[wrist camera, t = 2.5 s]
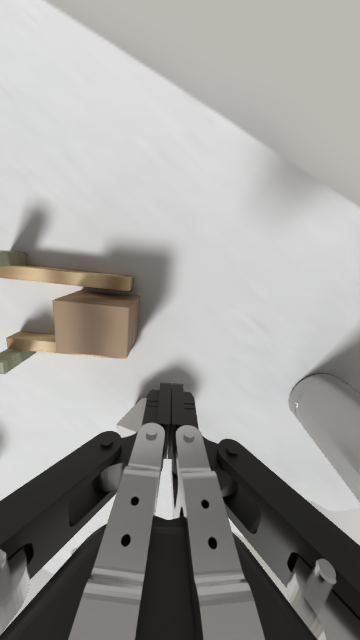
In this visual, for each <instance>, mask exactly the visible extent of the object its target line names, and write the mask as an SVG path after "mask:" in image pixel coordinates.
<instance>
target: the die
mask: <svg viewBox="0 0 360 640" xmlns="http://www.w3.org/2000/svg"><path fill="white" fill-rule="evenodd" d="M146 400H147V398H142V399H141V400H140V401H139V402H138V403H137V404H136V405H135V406H134V407H133V408H132V409H131V410H130V411H129V412H128V413H127V414H126V415H125V416H124V417H123V418H122V419H121V420H120V421H119V422H118V423H117V424H116V425H117V428H118V431H119V434H120V436H121V438H123V437H128V436H131V435H133V434H135V433H136V432H138V431H139V429H140V428H141V426H142V421H143V416H144V411H145V406H146ZM167 454H168V449H167Z"/></svg>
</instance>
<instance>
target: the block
mask: <svg viewBox="0 0 360 640" xmlns="http://www.w3.org/2000/svg"><path fill="white" fill-rule="evenodd" d="M139 297H140V296H134V295H124V294H114V293H105V292H95V291H85V290H80V291H77V292H75V293H72V294H69V295H66V296H63V297H60V298H58V299H55V300H53V313H54V327H55V342H56V352H64V353H75V354H87V355H98V356H110V357H122V358H127V357H128V355H129V353H130V350H131V348H132V346H133V344H134V342H135V340H136V338H137V335H138V316H139Z"/></svg>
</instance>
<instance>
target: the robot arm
mask: <svg viewBox="0 0 360 640" xmlns="http://www.w3.org/2000/svg"><path fill="white" fill-rule="evenodd" d="M289 406H290V409H291V411H292V412H293V414H294V415H295V416H296V418H297V419H298V420H299V422H300V423H301V424H302V426H303V427H304V429H305V430H306V431H307V433H308V434H309V435H310V437H311V438H312V439H313V441H314V442H315V443H316V445H317V446H318V447H319V449H320V450H321V451H322V453H323V454H324V455H325V457H326V458H327V459H328V461H329V462H330V463H331V465H332V466H333V467H334V469H335V470H336V471H337V473H338V474H339V475H340V477H341V478H342V479H343V481H344V482H345V483H346V485H347V486H348V487H349V489H350V490H351V491H352V493H353V494H354V495H355V497H356V498H357V499H358V501H359V502H360V392H358V391H357V390H356V389H354V388H353V387H352V386H350V385H349V384H345V383H344V382H342V381H341V380H340V379H338V378H337V377H335V376H333V375H330V374H316V375H312V376H309V377H307V378H305V379H303V380H302V381H301V382H299V383H298V384H297V385H296V386H295V388H294V389H293V390H292V392H291V395H290V399H289ZM167 449H168V459H172V468H171V488H172V504H173V519H172V520H165V519H163V518H160V517H157V516H155V512H156V505H157V497H158V490H159V483H160V475H161V471H162V468H163V460H164V459H166V458H167ZM116 493H117V494H116ZM115 494H116V497H115V500H114V503H113V507H112V510H111V513H110V516H109V519H108V523H107V524H106V525H104V526H102V527H101V528H99V529H98V530H96V531H95V532H94V533H92V534H91V535H90V536H89V537H88V538H87V539H86V540H85V541H84V542H83V543H82V544H81V546H80V547H79V548H78V549H77V550H76V551H75V552H74V553H73V554H72V556H71V557H70V558H69V559H68V560H67V561H66V562H65V563H64V565H63V566H62V567H61V568H60V569H59V570H58V571H57V572H56V574H55V575H54V576H53V577H52V578H51V579H50V580H49V582H48V583H47V584H46V585H45V586H44V587H43V588H42V589H41V590H40V592H39V593H38V594H37V595H36V596H35V597H34V598H33V599H32V600H31V602H30V603H29V604H28V605H27V606H26V607H25V608H24V610H23V611H22V612H21V613H20V614H19V615H18V616H17V617H16V618H15V619H14V621H13V622H12V623H11V624H10V625H9V626H8V627H7V625H8V624H9V623H10V621H11V620H12V619H13V618H14V616H15V615H16V614H17V612H18V611H19V609H20V608H21V606H22V604H23V603H24V600H25V598H26V596H27V593H28V590H29V585H30V579H31V578H32V577H33V576H34V575H35V574H36V573H37V572H38V571H39V570H40V569H41V568H42V567H43V566H44V565H45V564H46V563H47V562H48V561H49V560H50V559H51V558H52V557H53V556H54V555H55V554H56V553H57V552H58V551H59V550H60V549H61V548H62V547H63V546H64V545H65V544H66V543H67V542H68V541H69V540H70V539H71V538H72V537H73V536H74V535H75V534H76V533H77V532H78V531H79V530H80V529H81V528H82V527H83V526H84V525H85V524H86V523H87V522H88V521H89V520H90V519H91V518H92V517H93V516H94V515H95V514H96V513H97V512H98V511H99V510H100V509H101V508H102V507H103V506H104V505H105V504H106V503H107V502H108V501H109V500H110V499H111V498H112V497H113V496H114V495H115ZM228 517H229V519H230V520H231V521H232V522H233V524H234V525H235V526H236V527H237V528H238V530H239V531H240V532H241V533H242V534H243V536H244V537H245V538H246V539H247V540H248V542H249V543H250V544H251V545H252V546H253V548H254V549H255V550H256V551H257V553H258V554H259V555H260V556H261V557H262V559H263V560H264V561H265V562H266V563H267V565H268V566H269V567H270V568H271V570H272V571H273V572H274V573H275V574H276V576H277V577H278V578H279V579H280V580H281V582H282V583H283V584H284V585H285V586H286V588H287V592H288V598H289V601H290V603H289V602H288V601H287V600H286V598H285V597H284V595H283V594H282V593H281V591H280V590H279V589H278V587H277V586H276V585H275V583H274V582H273V581H272V580H271V578H270V577H269V576H268V574H267V573H266V572H265V570H264V569H263V568H262V566H261V565H260V564H259V563H258V561H257V560H256V559H255V557H254V556H253V555H252V553H251V552H250V551H249V549H248V548H247V547H246V546H245V544H244V543H243V542H242V541H241V540H240V539H239V538H238V537H237V536H236V535H235V534H234V533H232V531H231V527H230V523H229V520H228ZM6 627H7V628H6ZM5 628H6V630H5ZM4 630H5V631H4ZM3 631H4V632H3ZM0 640H360V546H359V545H358V544H357V543H356V542H355V541H353V540H352V539H351V538H350V537H349V536H348V535H346V534H345V533H344V532H343V531H342V530H340V529H339V528H338V527H337V526H336V525H335V524H334V523H332V522H331V521H330V520H329V519H328V518H326V517H325V516H324V515H323V514H322V513H321V512H319V511H318V510H317V509H316V508H315V507H314V506H312V505H311V504H310V503H309V502H308V501H307V500H305V499H304V498H303V497H302V496H301V495H300V494H298V493H297V492H296V491H295V490H294V489H292V488H291V487H290V486H289V485H288V484H287V483H285V482H284V481H283V480H282V479H281V478H280V477H278V476H277V475H276V474H275V473H274V472H273V471H271V470H270V469H269V468H268V467H267V466H265V465H264V464H263V463H262V462H261V461H260V460H258V459H257V458H256V457H255V456H254V455H253V454H251V453H250V452H249V451H248V450H247V449H246V448H244V447H243V446H242V445H241V444H240V443H238V442H237V441H235V440H232V439H224V440H222V441H220V442H219V444H217V443H214V442H211V441H209V440H207V439H206V438H204V437H203V436H202V434H201V432H200V431H199V429H198V422H197V415H196V408H195V401H194V397H193V396H192V394H191V393H190V392H183V384H175V383H172V387H171V383H160V390H151V391H150V392H149V393H148V395H147V400H146V406H145V411H144V416H143V421H142V426H141V428H140V429H139V431H138V432H136V433H135V434H133V435H131V436H128V437H123V438H121V436H120V435H119V434H118V433H116V432H113V431H106V432H103V433H100V434H99V435H97V436H96V437H94V438H93V439H91V440H90V441H88V442H87V443H85V444H84V445H82V446H81V447H79V448H78V449H76V450H75V451H74V452H72V453H71V454H69V455H68V456H66V457H65V458H63V459H62V460H60V461H59V462H57V463H56V464H54V465H53V466H51V467H50V468H48V469H47V470H45V471H44V472H43V473H41V474H40V475H38V476H37V477H35V478H34V479H32V480H31V481H29V482H28V483H26V484H25V485H23V486H22V487H20V488H19V489H17V490H16V491H14V492H13V493H11V494H10V495H9V496H7V497H6V498H4V499H3V500H1V501H0Z"/></svg>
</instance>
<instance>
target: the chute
mask: <svg viewBox="0 0 360 640" xmlns="http://www.w3.org/2000/svg"><path fill="white" fill-rule="evenodd" d="M0 278H7V279H17V280H26V281H36V282H46V283H55V284H65V285H75V286H85V287H94V288H104V289H114V290H123V291H130V290H131V289H132V288H133V276H124V275H115V274H105V273H96V272H86V271H77V270H68V269H58V268H49V267H40V266H30V265H27V261H26V253H25V252H16V251H1V250H0ZM6 340H7V347H8V349H7V350H5V351H3V352H1V353H0V374H6V373H7V372H8V371H10V370H11V369H13V368H14V367H16V366H17V365H19V364H20V363H22V362H23V361H24V360H26V359H27V358H29V357H30V356H32V355H33V354H35V353H36V351H39V352H50V353H62V354H73V355H85V356H96V357H108V358H120V359H127V358H122V357H110V356H98V355H87V354H75V353H64V352H56V342H55V335H53V334H42V333H31V332H18V333H15V334H13V335H11V336H9V337H7V338H6Z"/></svg>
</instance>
